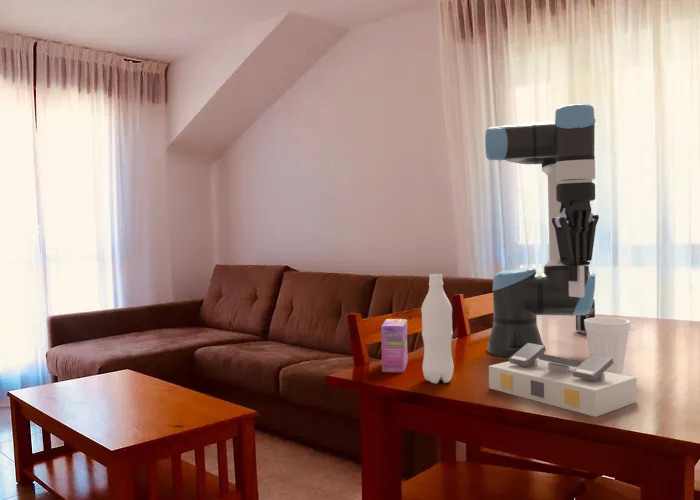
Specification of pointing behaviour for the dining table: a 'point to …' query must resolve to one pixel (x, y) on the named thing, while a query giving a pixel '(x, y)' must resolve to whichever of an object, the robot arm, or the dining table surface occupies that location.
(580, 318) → the beverage can
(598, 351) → the cup
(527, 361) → the switch
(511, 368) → the console
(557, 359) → the switch
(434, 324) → the water bottle
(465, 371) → the dining table surface
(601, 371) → the switch
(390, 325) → the box
